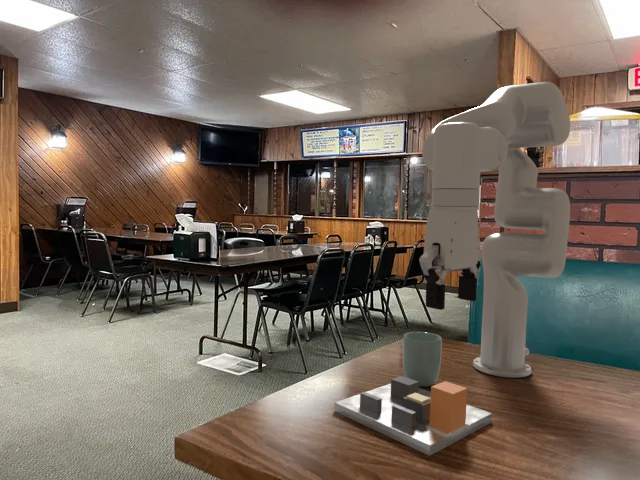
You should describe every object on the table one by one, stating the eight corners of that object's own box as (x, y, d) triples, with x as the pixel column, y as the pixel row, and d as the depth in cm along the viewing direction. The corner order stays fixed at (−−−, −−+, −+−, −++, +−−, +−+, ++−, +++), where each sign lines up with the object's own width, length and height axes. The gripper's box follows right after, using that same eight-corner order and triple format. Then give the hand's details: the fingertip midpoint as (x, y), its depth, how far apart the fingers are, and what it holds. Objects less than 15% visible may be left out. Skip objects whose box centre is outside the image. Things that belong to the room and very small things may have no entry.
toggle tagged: (413, 410, 82) (414, 391, 82) (433, 418, 79) (433, 398, 79) (402, 415, 80) (403, 395, 80) (422, 423, 77) (423, 402, 77)
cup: (440, 392, 96) (442, 342, 95) (401, 388, 97) (403, 339, 96) (438, 379, 103) (441, 333, 103) (402, 375, 105) (404, 330, 104)
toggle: (400, 391, 91) (401, 375, 91) (418, 397, 88) (418, 381, 88) (390, 395, 89) (391, 379, 89) (408, 401, 86) (408, 385, 86)
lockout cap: (443, 416, 79) (445, 381, 79) (465, 425, 76) (467, 388, 76) (429, 423, 76) (431, 386, 76) (451, 432, 74) (453, 394, 73)
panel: (398, 388, 97) (399, 369, 97) (491, 422, 82) (492, 399, 82) (334, 411, 85) (335, 389, 84) (429, 455, 70) (430, 429, 70)
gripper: (462, 200, 87) (459, 293, 89) (404, 200, 75) (401, 307, 77) (502, 201, 82) (498, 300, 83) (445, 200, 70) (442, 316, 71)
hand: (451, 303), depth 80 cm, fingers open, 9 cm apart
